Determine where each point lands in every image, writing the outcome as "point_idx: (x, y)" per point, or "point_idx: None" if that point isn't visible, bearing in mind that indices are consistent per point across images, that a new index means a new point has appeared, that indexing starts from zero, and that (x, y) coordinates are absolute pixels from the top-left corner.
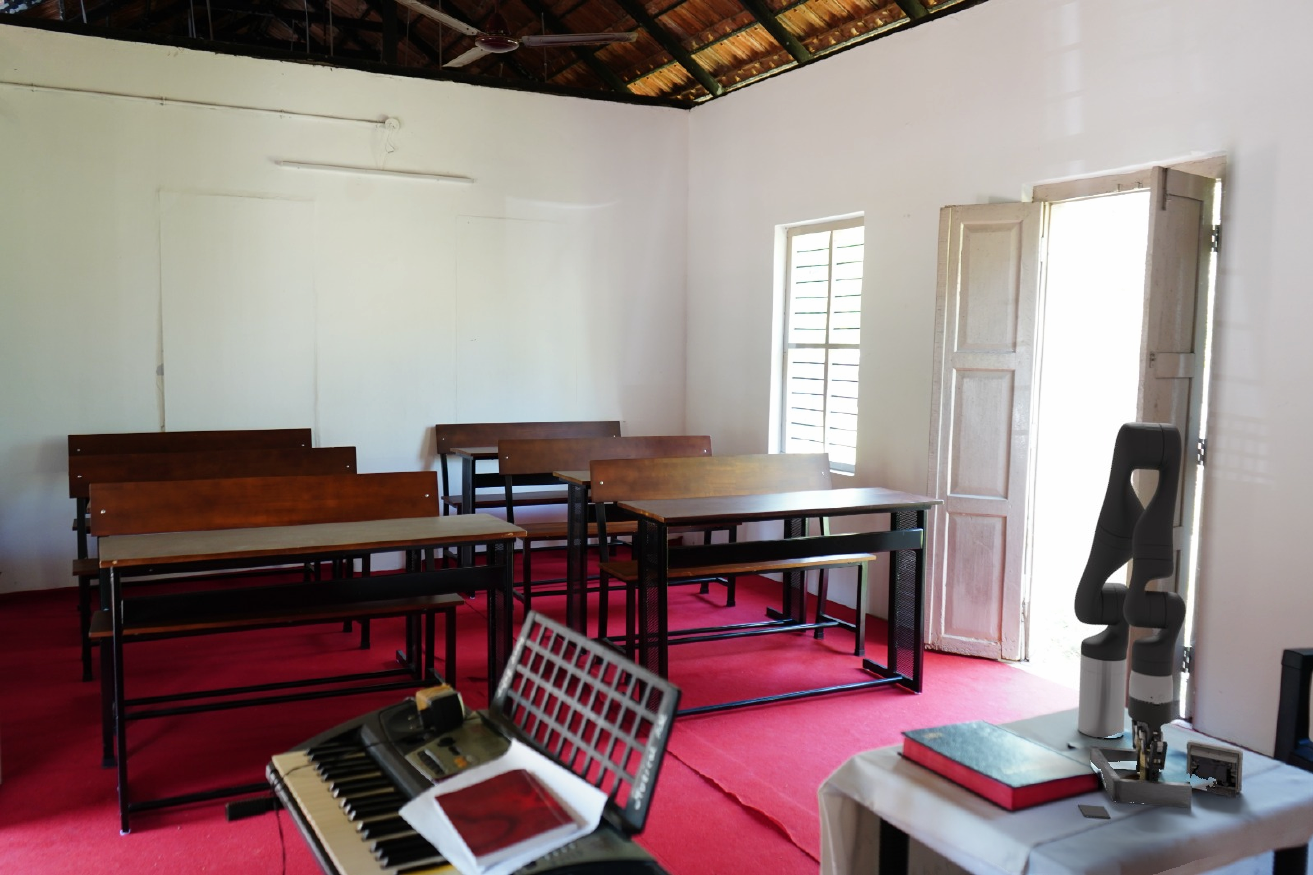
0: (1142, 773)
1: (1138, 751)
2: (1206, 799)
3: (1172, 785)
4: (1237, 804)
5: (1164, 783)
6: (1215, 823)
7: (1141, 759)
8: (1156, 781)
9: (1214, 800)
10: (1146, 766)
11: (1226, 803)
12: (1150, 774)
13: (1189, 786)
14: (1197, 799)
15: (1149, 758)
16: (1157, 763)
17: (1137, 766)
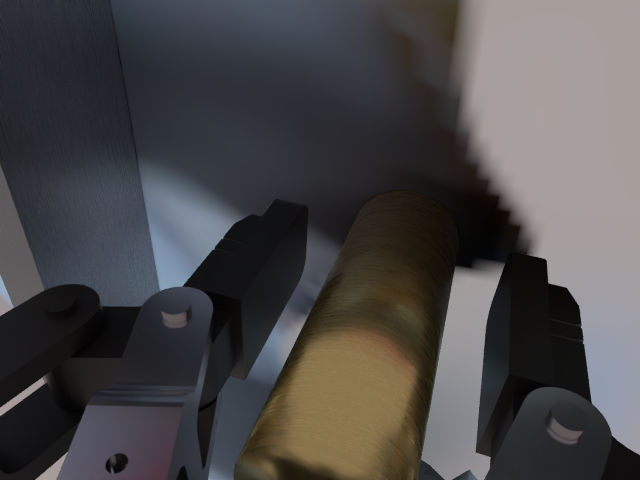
0: (352, 260)
1: (501, 446)
2: (254, 410)
3: (14, 301)
4: (229, 469)
5: (9, 268)
6: (6, 297)
7: (332, 354)
8: (21, 234)
9: (250, 429)
10: (170, 300)
11: (229, 446)
12: (197, 277)
13: (43, 378)
14: (245, 379)
15: (1, 369)
16: (50, 384)
17: (512, 303)
